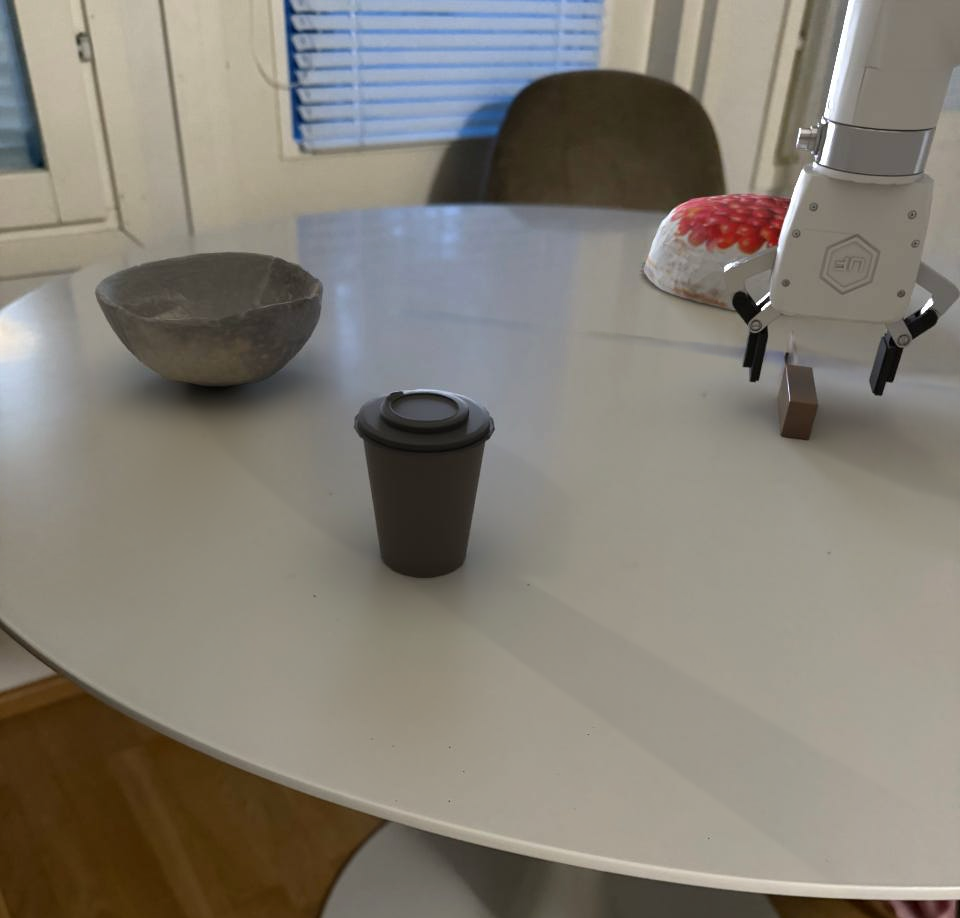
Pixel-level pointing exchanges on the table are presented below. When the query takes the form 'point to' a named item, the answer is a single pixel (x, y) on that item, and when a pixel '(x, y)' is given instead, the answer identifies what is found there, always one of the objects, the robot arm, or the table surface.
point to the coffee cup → (423, 475)
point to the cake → (714, 245)
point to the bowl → (213, 315)
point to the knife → (796, 396)
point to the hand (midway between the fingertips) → (813, 382)
